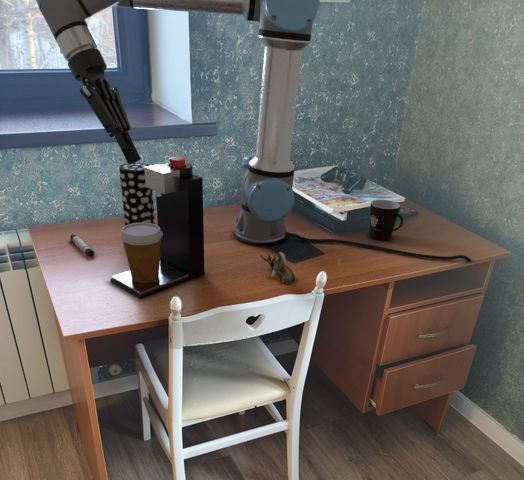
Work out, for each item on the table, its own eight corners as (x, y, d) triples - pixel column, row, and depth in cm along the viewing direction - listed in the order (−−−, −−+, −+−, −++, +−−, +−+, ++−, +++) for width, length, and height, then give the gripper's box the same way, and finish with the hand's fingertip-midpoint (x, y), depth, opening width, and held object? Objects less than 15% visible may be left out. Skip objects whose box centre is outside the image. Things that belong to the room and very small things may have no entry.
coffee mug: (362, 231, 165) (367, 199, 159) (389, 231, 166) (395, 199, 160) (372, 245, 155) (377, 212, 150) (401, 246, 156) (407, 212, 151)
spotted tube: (159, 234, 156) (154, 164, 145) (151, 244, 149) (146, 171, 138) (131, 232, 157) (124, 161, 146) (122, 242, 150) (114, 169, 139)
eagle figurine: (253, 270, 135) (272, 277, 128) (265, 244, 134) (285, 250, 127) (275, 281, 140) (295, 288, 132) (287, 255, 139) (307, 262, 132)
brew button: (188, 167, 122) (188, 158, 121) (176, 170, 120) (176, 161, 119) (178, 164, 124) (178, 155, 123) (166, 166, 122) (165, 158, 121)
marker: (94, 256, 141) (93, 249, 140) (87, 258, 140) (86, 250, 139) (75, 237, 151) (74, 231, 150) (68, 239, 150) (67, 232, 149)
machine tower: (207, 274, 135) (205, 168, 121) (187, 281, 131) (183, 173, 116) (177, 259, 141) (172, 158, 127) (157, 266, 137) (149, 162, 123)
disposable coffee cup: (116, 281, 126) (111, 232, 119) (139, 266, 133) (135, 219, 127) (151, 289, 123) (147, 239, 116) (172, 273, 130) (170, 226, 124)
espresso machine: (190, 280, 131) (187, 172, 117) (140, 299, 122) (129, 184, 108) (160, 265, 138) (153, 161, 124) (110, 282, 128) (96, 172, 114)
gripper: (85, 67, 121) (134, 167, 127) (51, 61, 110) (107, 171, 116) (111, 50, 119) (160, 153, 125) (79, 42, 107) (134, 156, 113)
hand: (134, 161), depth 120 cm, fingers closed
